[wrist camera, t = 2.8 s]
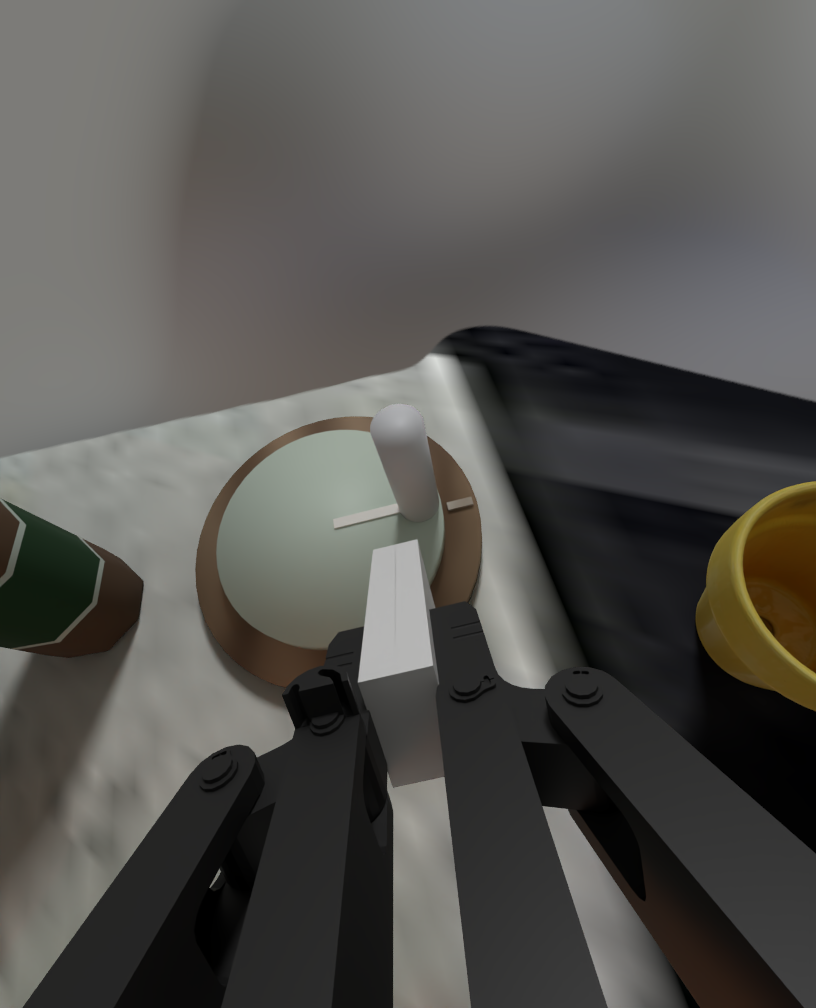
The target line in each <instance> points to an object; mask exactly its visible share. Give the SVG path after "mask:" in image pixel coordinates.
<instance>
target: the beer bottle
mask: <svg viewBox="0 0 816 1008" xmlns="http://www.w3.org/2000/svg"><path fill="white" fill-rule="evenodd" d="M142 590H143V580H142V579H141V578H140V577H139V576H138V575H137V574H136V573H135V572H134V571H133V570H132V569H131V568H130V567H129V566H128V565H127V564H126V563H125V562H124V561H123V560H121V559H120V558H118V557H117V556H115V555H113V554H112V553H110V552H108V551H106V550H105V549H103V548H100V547H98V546H96V545H94V544H92V543H90V542H88V541H86V540H84V539H82V538H80V537H78V536H76V535H74V534H72V533H70V532H68V531H66V530H64V529H62V528H60V527H58V526H56V525H54V524H52V523H50V522H48V521H45V520H43V519H41V518H39V517H37V516H35V515H33V514H31V513H29V512H27V511H25V510H23V509H21V508H19V507H17V506H15V505H13V504H11V503H9V502H7V501H5V500H3V499H1V498H0V647H4V648H10V649H15V650H20V651H26V652H31V653H37V654H42V655H48V656H57V657H66V658H69V657H75V656H81V655H87V654H93V653H99V652H105V651H108V650H110V649H111V648H112V647H113V646H114V644H115V643H116V642H117V641H118V640H119V639H120V638H121V637H122V636H123V635H124V634H125V633H126V632H127V630H128V629H129V628H130V627H131V626H132V625H133V624H134V623H135V622H136V621H137V620H138V619H139V612H140V605H141V597H142Z"/></svg>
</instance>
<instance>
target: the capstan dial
mask: <svg viewBox="0 0 816 1008" xmlns="http://www.w3.org/2000/svg"><path fill="white" fill-rule="evenodd" d="M416 539H417V540H418V543H419V547H420V551H421V555H422V559H423V563H424V566H425V570H426V574H427V578H428V582H429V586H431V584H432V582H433V580H434V578H435V576H436V573H437V571H438V568H439V566H440V563H441V559H442V555H443V551H444V542H445V521H444V515H443V510H442V505H441V499H440V496H439V493H438V490H437V486H436V481H435V476H434V471H433V466H432V461H431V455H430V450H429V445H428V440H427V435H426V430H425V424H424V419H423V416H422V415H421V413H420V412H419V411H418V410H417V409H416V408H414V407H413V406H410V405H407V404H393V405H390V406H387V407H385V408H383V409H382V410H380V411H379V412H378V413H377V414H376V415H375V416H374V418H373V420H372V422H371V425H370V432H365V431H358V430H334V431H326V432H321V433H316V434H312V435H309V436H306V437H303V438H300V439H298V440H296V441H293V442H291V443H289V444H287V445H285V446H283V447H282V448H280V449H278V450H276V451H275V452H274V453H272V454H271V455H269V456H268V457H266V458H265V459H264V460H263V461H262V462H261V463H259V464H258V465H257V466H256V467H255V468H254V469H253V470H252V471H251V472H250V473H249V474H248V475H247V476H246V477H245V479H244V480H243V481H242V483H241V484H240V485H239V487H238V488H237V489H236V491H235V493H234V494H233V496H232V498H231V499H230V501H229V503H228V506H227V508H226V510H225V512H224V515H223V518H222V521H221V524H220V528H219V533H218V538H217V550H216V556H217V568H218V573H219V577H220V581H221V584H222V586H223V589H224V592H225V594H226V596H227V597H228V599H229V601H230V603H231V604H232V606H233V607H234V608H235V610H236V611H237V612H238V613H239V615H240V616H241V617H242V618H243V619H244V620H246V621H247V622H248V623H249V624H250V625H251V626H253V627H254V628H256V629H257V630H259V631H260V632H262V633H263V634H265V635H267V636H270V637H272V638H274V639H276V640H278V641H281V642H283V643H285V644H288V645H291V646H295V647H299V648H303V649H311V650H328V645H329V644H330V643H331V641H332V640H333V639H334V637H335V636H336V635H337V633H338V632H341V631H345V630H350V629H354V628H358V627H363V626H364V625H365V616H366V607H367V598H368V590H369V581H370V572H371V564H372V555H373V550H375V549H379V548H383V547H387V546H391V545H395V544H400V543H404V542H408V541H412V540H416Z"/></svg>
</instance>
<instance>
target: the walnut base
mask: <svg viewBox="0 0 816 1008" xmlns="http://www.w3.org/2000/svg"><path fill="white" fill-rule="evenodd" d="M372 420H373V417H341V418H333V419H328V420H323V421H318V422H315V423H312V424H309V425H305V426H302V427H300V428H298V429H295V430H293V431H291V432H288V433H286V434H285V435H283V436H281V437H279V438H277V439H275V440H274V441H272V442H271V443H269V444H268V445H266V446H265V447H263V448H262V449H260V450H259V451H258V452H257V453H255V454H254V455H253V456H252V457H251V458H249V459H248V460H247V461H246V462H245V463H244V464H243V465H242V466H241V467H240V468H239V469H238V470H237V471H236V472H235V473H234V474H233V476H232V477H231V478H230V480H229V481H228V482H227V483H226V485H225V486H224V487H223V489H222V490H221V492H220V493H219V495H218V497H217V498H216V500H215V502H214V503H213V505H212V507H211V510H210V512H209V514H208V516H207V518H206V521H205V524H204V526H203V529H202V532H201V535H200V540H199V545H198V549H197V557H196V569H195V570H196V588H197V593H198V598H199V603H200V607H201V610H202V612H203V615H204V618H205V621H206V623H207V625H208V627H209V629H210V630H211V632H212V634H213V636H214V638H215V639H216V640H217V642H218V643H219V644H220V646H221V647H222V648H223V650H224V651H225V652H226V653H227V654H228V655H229V656H230V657H231V658H232V659H233V660H234V661H235V662H237V663H238V664H239V665H240V666H242V667H243V668H244V669H246V670H247V671H249V672H250V673H252V674H253V675H255V676H257V677H259V678H261V679H263V680H265V681H268V682H270V683H272V684H275V685H279V686H282V687H285V688H286V687H287V686H288V685H289V684H290V683H291V682H292V681H293V680H294V679H295V678H296V677H298V676H299V675H301V674H303V673H304V672H306V671H308V670H310V669H313V668H316V667H319V666H324V663H325V661H326V654H327V650H311V649H303V648H299V647H295V646H291V645H288V644H285V643H283V642H281V641H278V640H276V639H274V638H272V637H270V636H267V635H265V634H263V633H262V632H260V631H259V630H257V629H256V628H254V627H253V626H251V625H250V624H249V623H248V622H247V621H246V620H244V619H243V618H242V617H241V616H240V615H239V613H238V612H237V611H236V610H235V608H234V607H233V606H232V604H231V603H230V601H229V599H228V597H227V596H226V594H225V592H224V589H223V586H222V584H221V581H220V577H219V573H218V568H217V556H216V550H217V538H218V533H219V528H220V524H221V521H222V518H223V515H224V512H225V510H226V508H227V506H228V503H229V501H230V499H231V498H232V496H233V494H234V493H235V491H236V489H237V488H238V487H239V485H240V484H241V483H242V481H243V480H244V479H245V477H246V476H247V475H248V474H249V473H250V472H251V471H252V470H253V469H254V468H255V467H256V466H257V465H258V464H259V463H261V462H262V461H263V460H264V459H265V458H266V457H268V456H269V455H271V454H272V453H274V452H275V451H276V450H278V449H280V448H282V447H283V446H285V445H287V444H289V443H291V442H293V441H296V440H298V439H300V438H303V437H306V436H309V435H312V434H316V433H321V432H326V431H334V430H358V431H365V432H370V425H371V422H372ZM427 440H428V445H429V450H430V455H431V461H432V466H433V471H434V476H435V481H436V486H437V490H438V493H439V496H440V499H441V505H442V510H443V515H444V521H445V542H444V551H443V555H442V559H441V563H440V566H439V568H438V571H437V573H436V576H435V578H434V580H433V582H432V584H431V586H430V589H431V593H432V597H433V601H434V605H435V608H438V607H442V606H447V605H451V604H455V603H459V602H464V601H466V602H467V603H468V602H469V600H470V597H471V595H472V592H473V589H474V586H475V583H476V581H477V576H478V572H479V567H480V562H481V549H482V532H481V519H480V514H479V509H478V505H477V501H476V498H475V495H474V493H473V490H472V488H471V485H470V483H469V481H468V479H467V478H466V476H465V474H464V472H463V471H462V469H461V468H460V467H459V465H458V464H457V463H456V461H455V460H454V459H453V458H452V456H451V455H450V454H448V453H447V452H446V451H445V450H444V449H443V448H442V447H441V446H440V445H439V444H437V443H436V442H435V441H433V440H432V439H431V438H429V437H428V436H427Z"/></svg>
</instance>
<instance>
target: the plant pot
mask: <svg viewBox="0 0 816 1008" xmlns="http://www.w3.org/2000/svg"><path fill="white" fill-rule="evenodd" d="M706 585H707V587H706V589H705V591H704V592H703V594H702V596H701V598H700V600H699V603H698V605H697V609H696V628H697V632H698V635H699V638H700V640H701V642H702V644H703V646H704V648H705V650H706V651H707V653H708V654H709V656H710V657H711V658H712V659H713V660H714V661H715V663H716V664H717V665H718V666H720V667H721V668H722V669H723V670H724V671H726V672H727V673H728V674H730V675H732V676H733V677H735V678H737V679H739V680H740V681H742V682H745V683H747V684H750V685H753V686H756V687H760V688H764V689H769V690H773V691H777V692H778V693H780V694H782V695H783V696H785V697H786V698H788V699H790V700H792V701H794V702H796V703H798V704H800V705H802V706H804V707H806V708H809V709H811V710H814V711H816V481H815V482H808V483H802V484H798V485H794V486H790V487H787V488H784V489H782V490H779V491H777V492H775V493H773V494H770V495H769V496H767V497H766V498H764V499H762V500H761V501H760V502H758V503H757V504H756V505H754V506H753V507H752V508H751V509H749V510H748V511H747V512H746V513H745V514H744V515H743V516H741V517H740V518H739V519H738V520H737V521H736V522H735V523H734V524H733V525H732V526H731V527H730V528H729V529H728V530H727V531H726V532H725V533H724V535H723V536H722V537H721V538H720V540H719V541H718V543H717V544H716V546H715V548H714V550H713V552H712V555H711V557H710V560H709V564H708V569H707V578H706ZM767 628H768V629H767Z"/></svg>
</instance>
